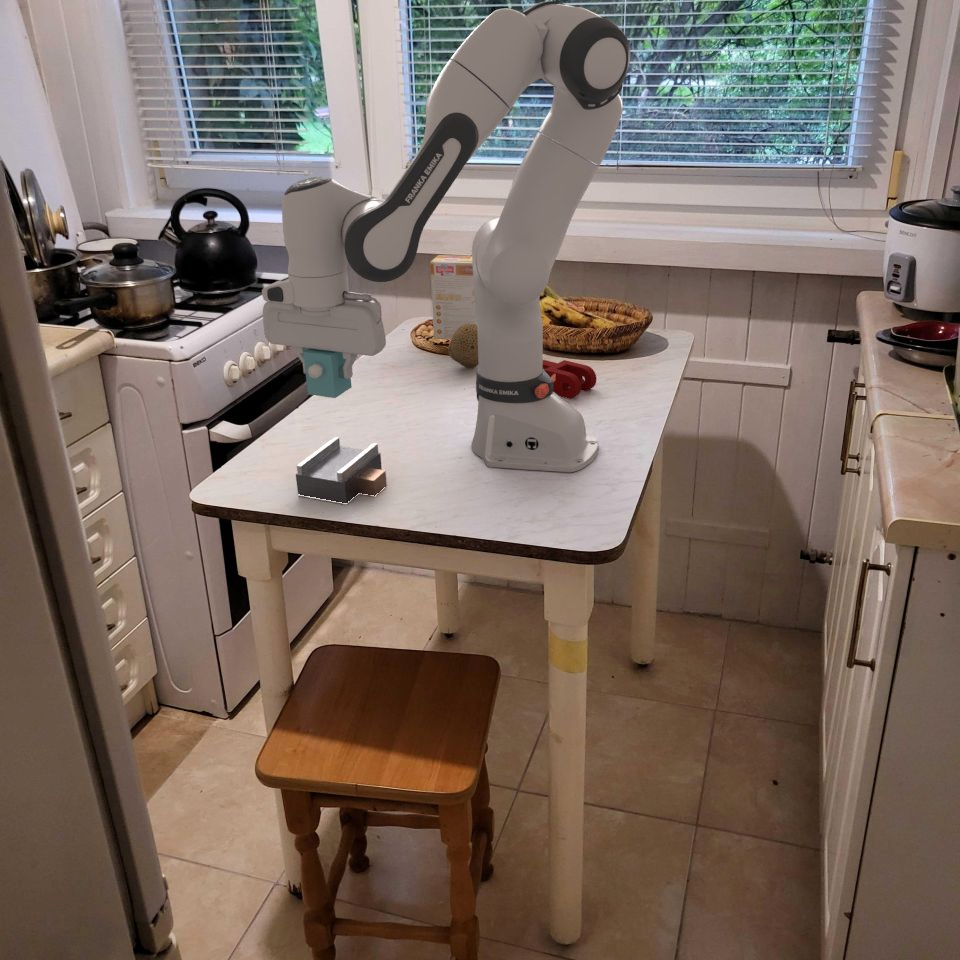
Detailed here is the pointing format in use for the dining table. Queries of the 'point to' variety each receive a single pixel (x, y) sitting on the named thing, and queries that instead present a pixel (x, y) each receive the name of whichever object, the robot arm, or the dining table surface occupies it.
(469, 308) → the coffeecake box
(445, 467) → the dining table surface
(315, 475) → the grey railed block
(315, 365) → the block
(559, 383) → the mechanical linkage
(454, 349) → the natural sponge
